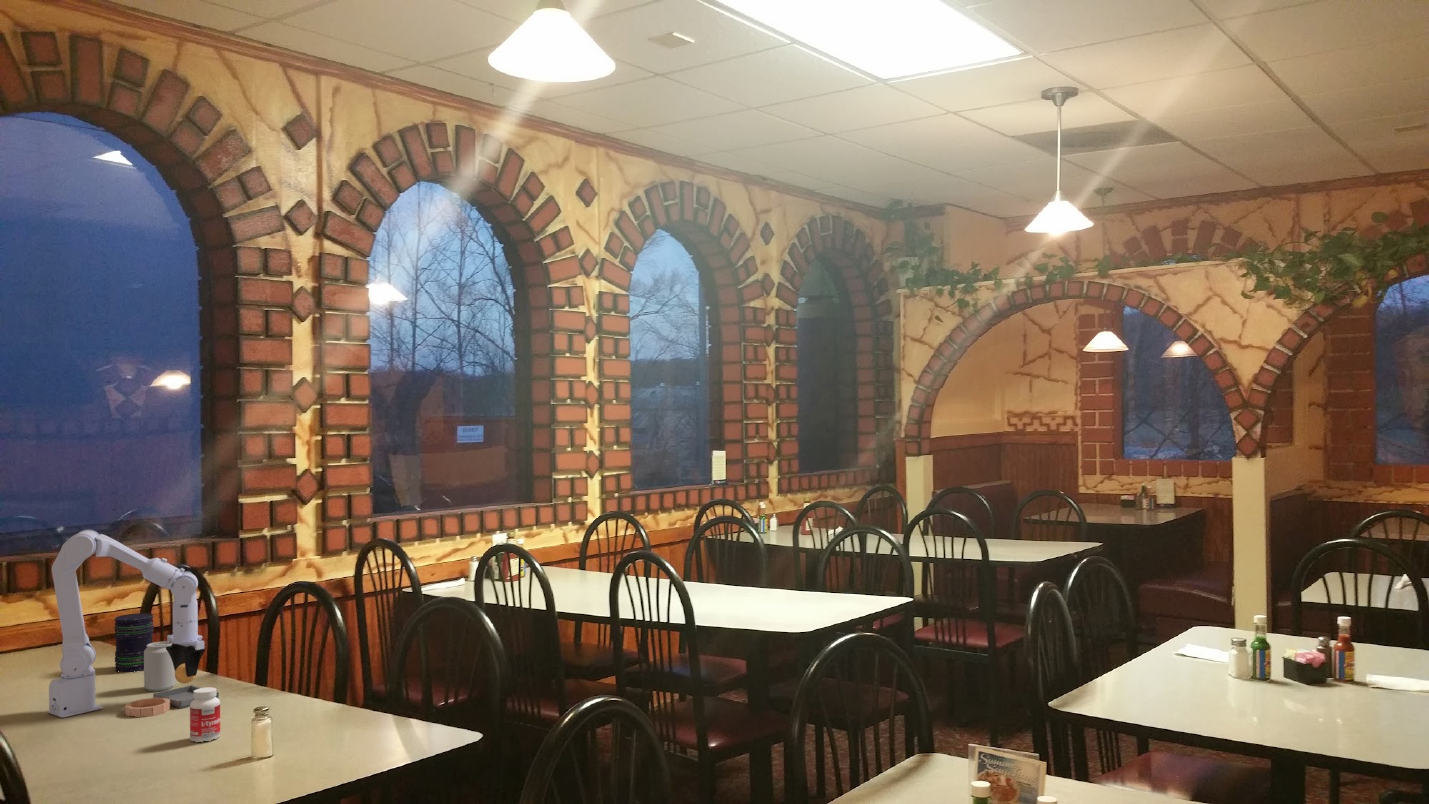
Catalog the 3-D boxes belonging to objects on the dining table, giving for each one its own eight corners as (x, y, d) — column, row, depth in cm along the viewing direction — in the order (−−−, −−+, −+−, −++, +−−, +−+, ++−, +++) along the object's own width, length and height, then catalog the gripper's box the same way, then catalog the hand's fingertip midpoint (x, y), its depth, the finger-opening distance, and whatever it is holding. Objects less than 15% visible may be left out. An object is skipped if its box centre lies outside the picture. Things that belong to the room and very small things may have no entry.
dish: (137, 719, 257) (137, 710, 257) (118, 712, 262) (118, 704, 262) (177, 709, 264) (177, 701, 264) (157, 703, 270) (157, 695, 270)
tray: (179, 708, 265) (179, 701, 265) (153, 700, 273) (153, 693, 273) (218, 699, 273) (218, 692, 273) (191, 691, 281) (191, 685, 281)
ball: (181, 686, 269) (181, 666, 270) (171, 684, 272) (170, 664, 272) (200, 681, 274) (200, 662, 274) (190, 680, 276) (189, 660, 277)
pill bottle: (201, 744, 237) (201, 694, 237) (184, 740, 240) (183, 691, 240) (226, 737, 242) (226, 688, 242) (209, 733, 245) (208, 684, 245)
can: (166, 692, 281) (166, 646, 281) (138, 692, 281) (137, 646, 281) (181, 684, 288) (181, 640, 288) (153, 684, 288) (153, 640, 288)
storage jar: (122, 665, 310) (121, 613, 310) (158, 663, 312) (158, 612, 312) (109, 673, 301) (108, 620, 301) (147, 672, 302) (146, 619, 302)
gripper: (215, 621, 272) (216, 675, 272) (186, 615, 281) (186, 667, 281) (188, 626, 266) (188, 681, 266) (158, 619, 275) (159, 672, 275)
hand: (185, 674), depth 273 cm, fingers closed on ball, 5 cm apart
